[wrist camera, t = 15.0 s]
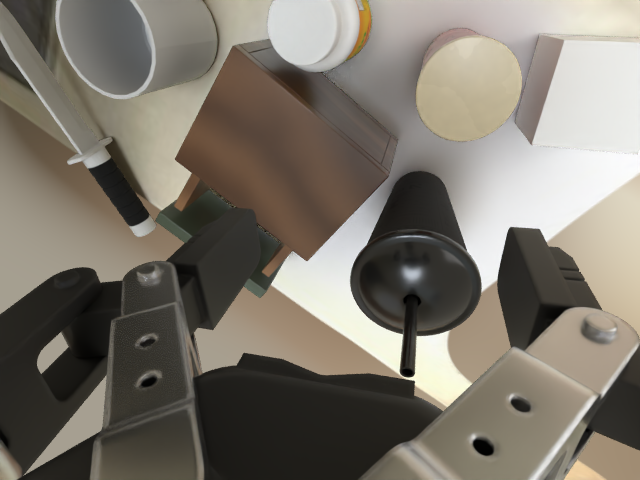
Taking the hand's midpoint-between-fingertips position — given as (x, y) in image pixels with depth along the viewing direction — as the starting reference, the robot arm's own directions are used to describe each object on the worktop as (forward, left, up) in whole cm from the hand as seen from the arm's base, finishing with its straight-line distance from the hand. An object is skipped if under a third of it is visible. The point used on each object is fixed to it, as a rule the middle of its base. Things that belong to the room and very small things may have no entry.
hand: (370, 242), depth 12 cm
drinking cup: (+8, +2, -22) cm, 24 cm away
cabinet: (+3, -8, -22) cm, 24 cm away
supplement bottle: (-6, -6, -22) cm, 24 cm away
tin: (-3, +3, -22) cm, 22 cm away
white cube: (-2, +11, -22) cm, 25 cm away
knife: (+1, -31, -22) cm, 38 cm away
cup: (-6, -18, -22) cm, 29 cm away
